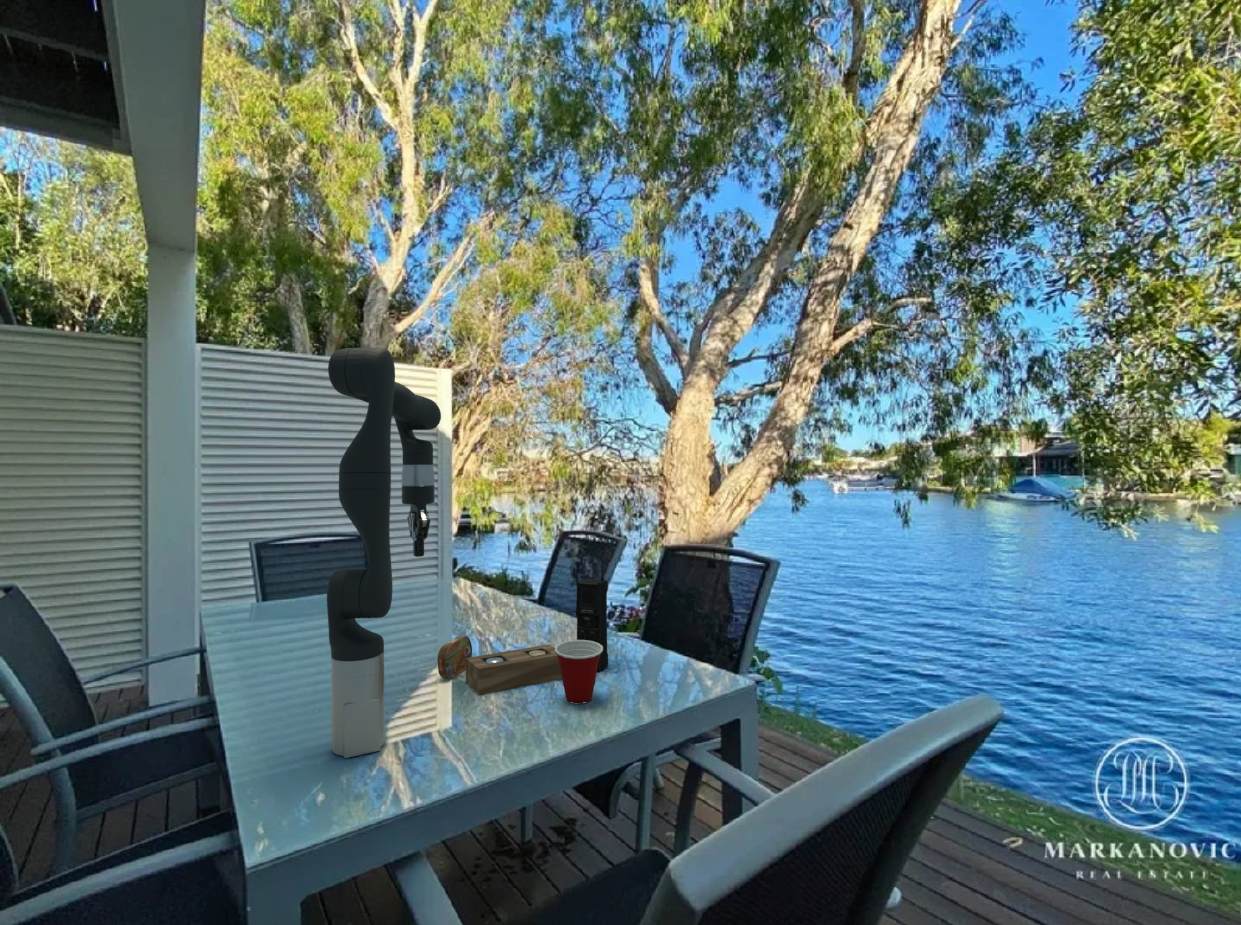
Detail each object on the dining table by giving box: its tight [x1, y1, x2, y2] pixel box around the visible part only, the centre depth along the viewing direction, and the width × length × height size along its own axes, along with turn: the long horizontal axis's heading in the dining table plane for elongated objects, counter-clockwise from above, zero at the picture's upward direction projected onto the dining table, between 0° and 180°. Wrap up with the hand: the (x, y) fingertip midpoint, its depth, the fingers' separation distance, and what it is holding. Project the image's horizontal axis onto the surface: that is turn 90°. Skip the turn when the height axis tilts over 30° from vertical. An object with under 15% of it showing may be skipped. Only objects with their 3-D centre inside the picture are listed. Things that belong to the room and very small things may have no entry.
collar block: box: [465, 644, 562, 696], centre depth 157 cm, size 10×22×6 cm, turn 121°
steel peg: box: [486, 657, 503, 664], centre depth 155 cm, size 4×4×6 cm
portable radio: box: [575, 570, 609, 672], centre depth 167 cm, size 8×6×25 cm
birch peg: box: [529, 650, 545, 656], centre depth 160 cm, size 4×4×6 cm
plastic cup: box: [554, 639, 603, 703], centre depth 144 cm, size 11×11×12 cm
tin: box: [436, 635, 473, 680], centre depth 164 cm, size 15×3×8 cm, turn 168°
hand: (418, 556), depth 155 cm, fingers closed
